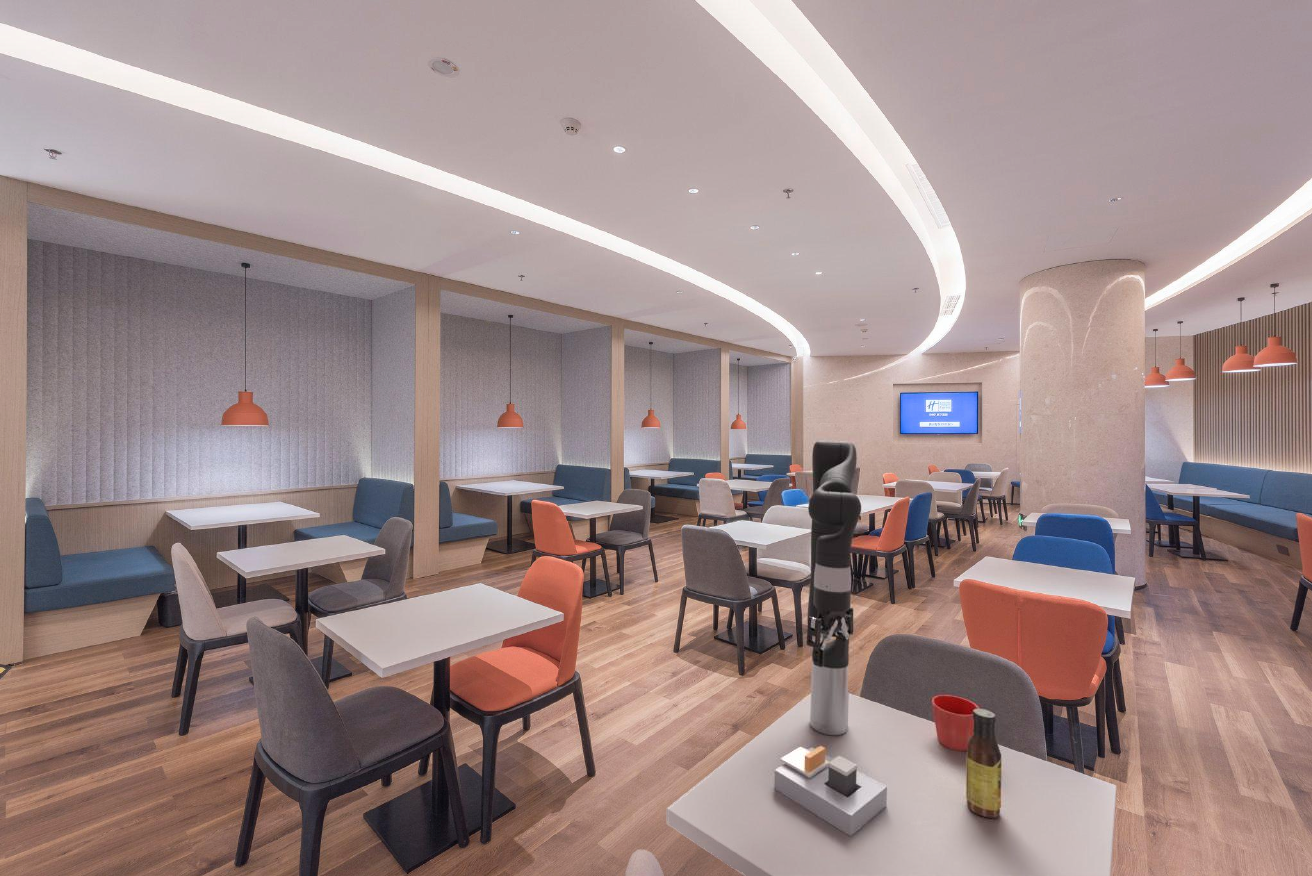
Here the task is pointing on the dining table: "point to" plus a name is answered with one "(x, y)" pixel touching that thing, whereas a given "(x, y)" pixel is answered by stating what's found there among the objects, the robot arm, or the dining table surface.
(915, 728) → the dining table surface
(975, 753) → the sauce bottle
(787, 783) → the socket block
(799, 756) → the shutter
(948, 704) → the flower pot
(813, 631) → the robot arm
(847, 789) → the plug
